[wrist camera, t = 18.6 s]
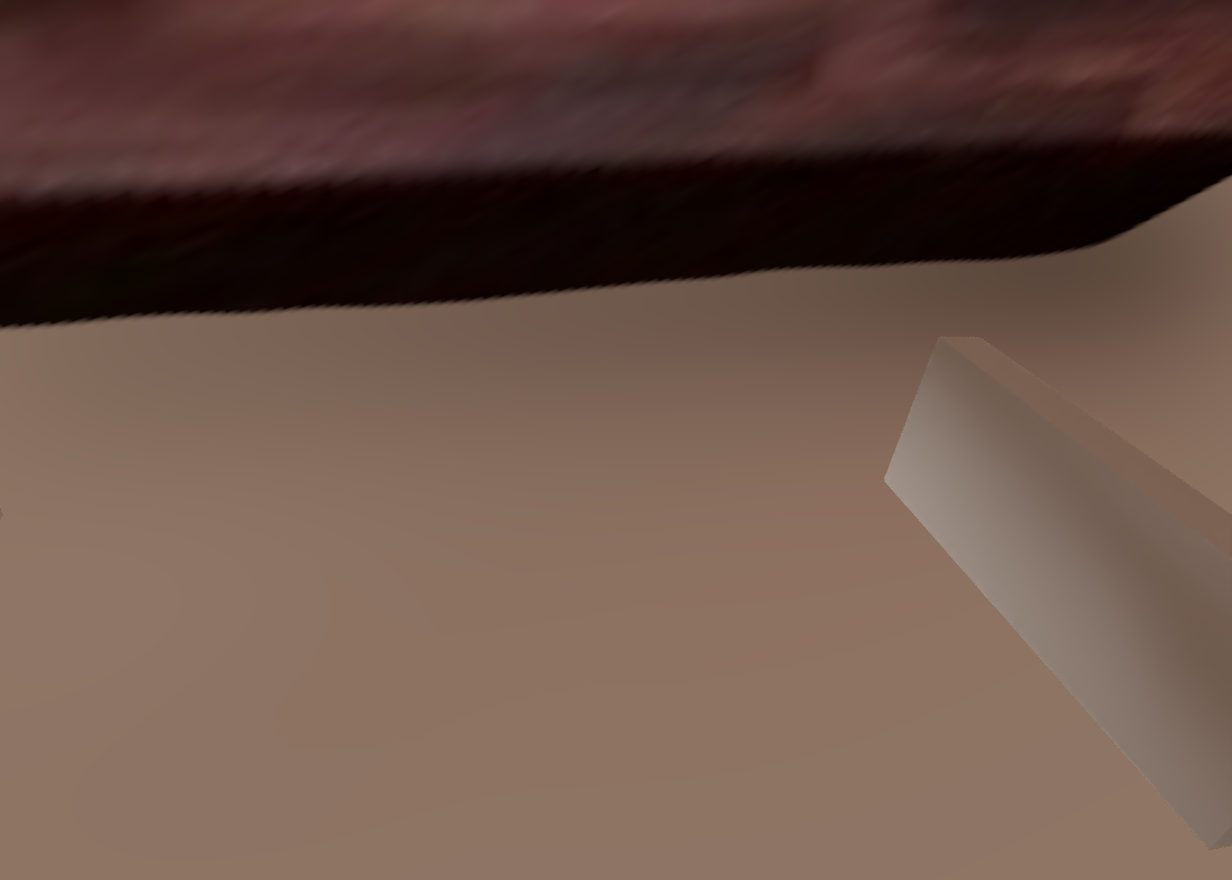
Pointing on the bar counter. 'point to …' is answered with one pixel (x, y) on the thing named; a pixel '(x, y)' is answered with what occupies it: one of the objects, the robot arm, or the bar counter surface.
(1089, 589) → the robot arm
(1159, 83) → the bar counter surface
